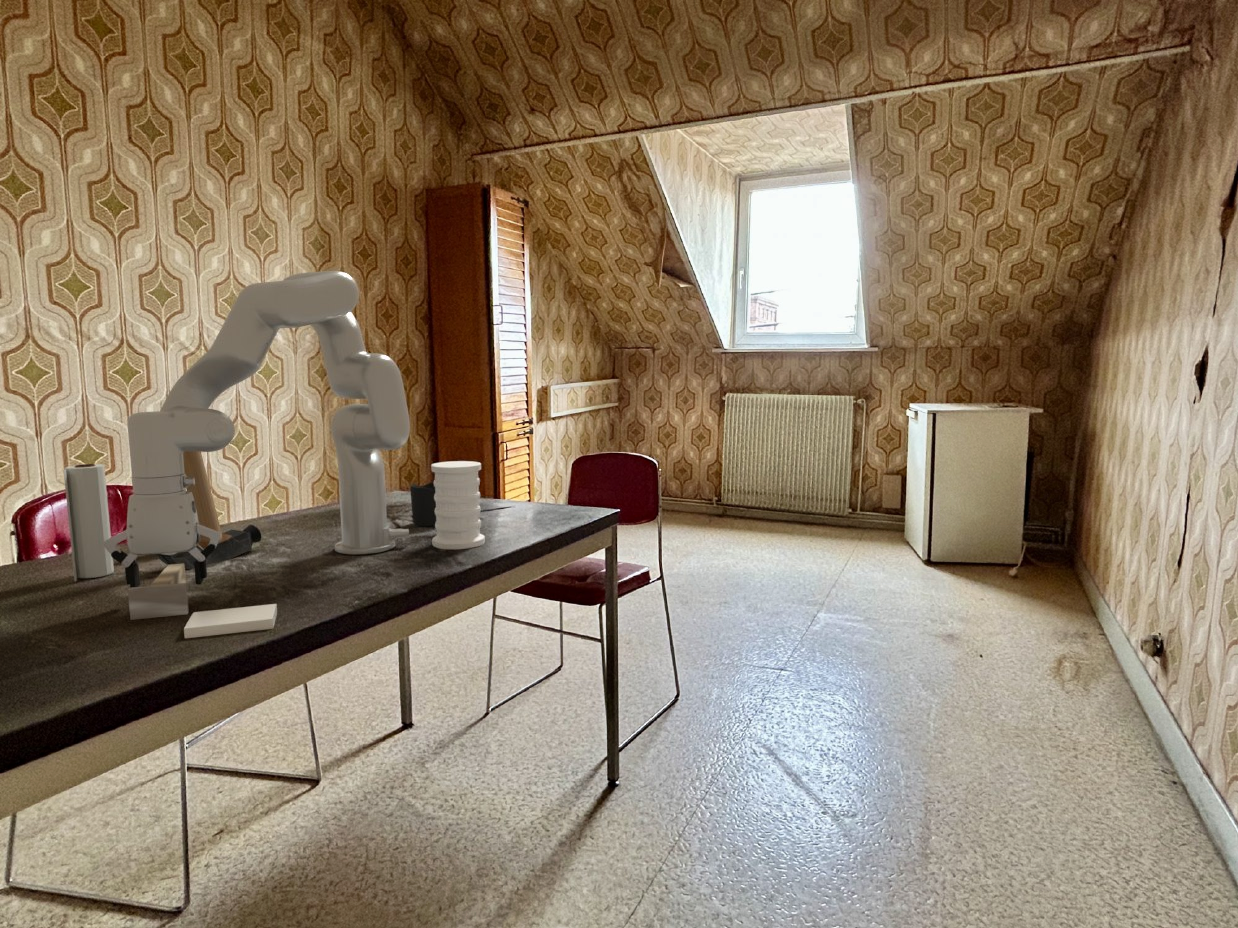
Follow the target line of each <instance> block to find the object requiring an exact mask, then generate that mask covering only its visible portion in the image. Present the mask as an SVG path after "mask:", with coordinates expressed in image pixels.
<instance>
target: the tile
mask: <svg viewBox="0 0 1238 928" xmlns="http://www.w3.org/2000/svg"><path fill="white" fill-rule="evenodd" d="M277 616H278V604H277V603H272V604H271V603H270V604H261V605H251V606H244V607H231V608H223V609H213V610H203V611H194V612H193V613H192V614H191V616H190V617H189V619H188V621H187V622H186V624H185V626H184V628H183V634H184V639H191V638H200V637H201V638H202V637H211V636H219V635H228V634H236V633H242V632H243V633H245V632H246V633H247V632H253V631H263V630H264V631H265V630H271V629H274V627H275V624H276V619H277Z"/></svg>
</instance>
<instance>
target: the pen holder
mask: <svg viewBox="0 0 1238 928" xmlns="http://www.w3.org/2000/svg"><path fill="white" fill-rule="evenodd" d="M409 487H410V490H409V491H410V500H411V501H410V502H411V515H412V522H413V523H412V524H413V525H414V526H416V527H422V528H424V527H425V528H432V527H433V528H435V523H436V515H435V512H434V511H435V508H436V501H435V499H434V494H435V487H434V481H432V482H429V483H426V484H423V485H417V484H410V485H409Z"/></svg>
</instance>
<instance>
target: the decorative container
mask: <svg viewBox="0 0 1238 928" xmlns="http://www.w3.org/2000/svg"><path fill="white" fill-rule="evenodd" d="M430 468H431V469H430V470H431V472H432V473H434V480H433V482H434V487H435V494H434V499H435V501H436V508H435V511H434V512H435V515H436V523H435V526H434V528H435V530H436V535H435V536H434V537H432V540H431V541H432V543H431V544H432V546H433V547H434V548H437V549H441V550H465V549H466V550H467V549H472V548H473V549H474V548H477V547H481V546H482V545H484V544H485V543H486V539H485V537H486V536H485V535H484V534H482V533H481V529H480V528H481V527H482V521H481V519H480V514H481V511H482V508H481V505H480V500H481V492H480V489H479V486H480V482H481V479H480V477H479V471H481V470H482V463H481V462H478V461H470V460H469V461H468V460H457V461H456V460H455V461H454V460H453V461H441V462H440V461H439V462H435V463H431V465H430Z"/></svg>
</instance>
